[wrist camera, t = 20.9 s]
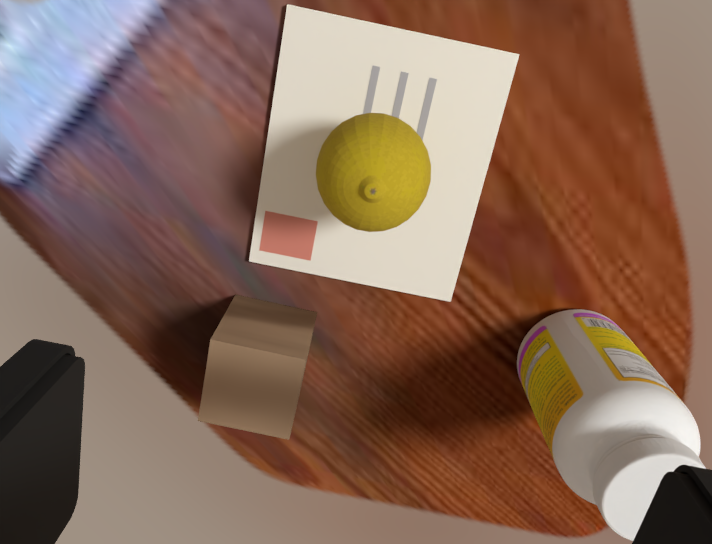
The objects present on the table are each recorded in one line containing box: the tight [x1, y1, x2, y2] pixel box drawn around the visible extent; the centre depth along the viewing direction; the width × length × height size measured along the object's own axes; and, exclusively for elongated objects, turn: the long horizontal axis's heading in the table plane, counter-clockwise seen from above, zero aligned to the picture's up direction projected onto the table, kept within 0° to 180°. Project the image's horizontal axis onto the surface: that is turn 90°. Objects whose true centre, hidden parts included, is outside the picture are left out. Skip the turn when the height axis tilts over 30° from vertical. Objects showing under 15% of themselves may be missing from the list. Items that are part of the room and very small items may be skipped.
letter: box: [249, 4, 519, 302], centre depth 34 cm, size 14×12×1 cm
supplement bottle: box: [517, 309, 706, 541], centre depth 32 cm, size 7×7×13 cm
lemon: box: [316, 113, 431, 232], centre depth 30 cm, size 6×6×8 cm
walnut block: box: [198, 295, 317, 440], centre depth 36 cm, size 5×5×6 cm
